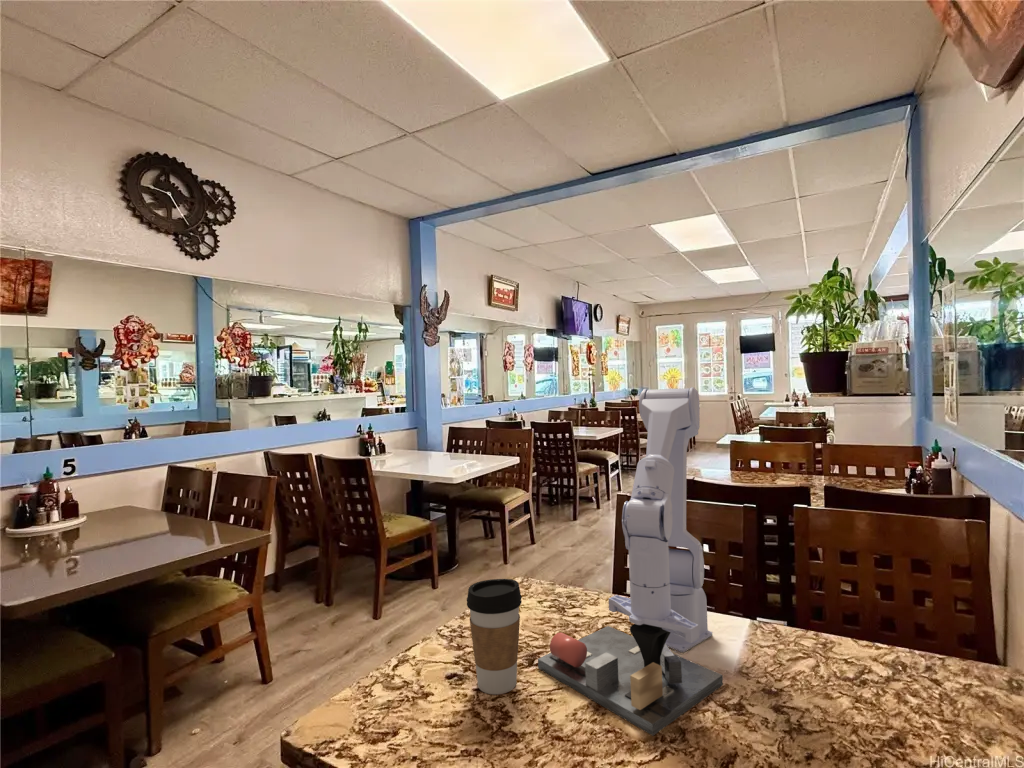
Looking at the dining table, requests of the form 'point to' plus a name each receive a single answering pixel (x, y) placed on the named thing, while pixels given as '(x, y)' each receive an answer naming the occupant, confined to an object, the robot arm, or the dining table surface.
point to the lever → (671, 666)
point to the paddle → (646, 685)
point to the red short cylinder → (568, 649)
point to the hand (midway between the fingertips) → (652, 673)
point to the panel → (611, 683)
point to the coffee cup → (495, 633)
